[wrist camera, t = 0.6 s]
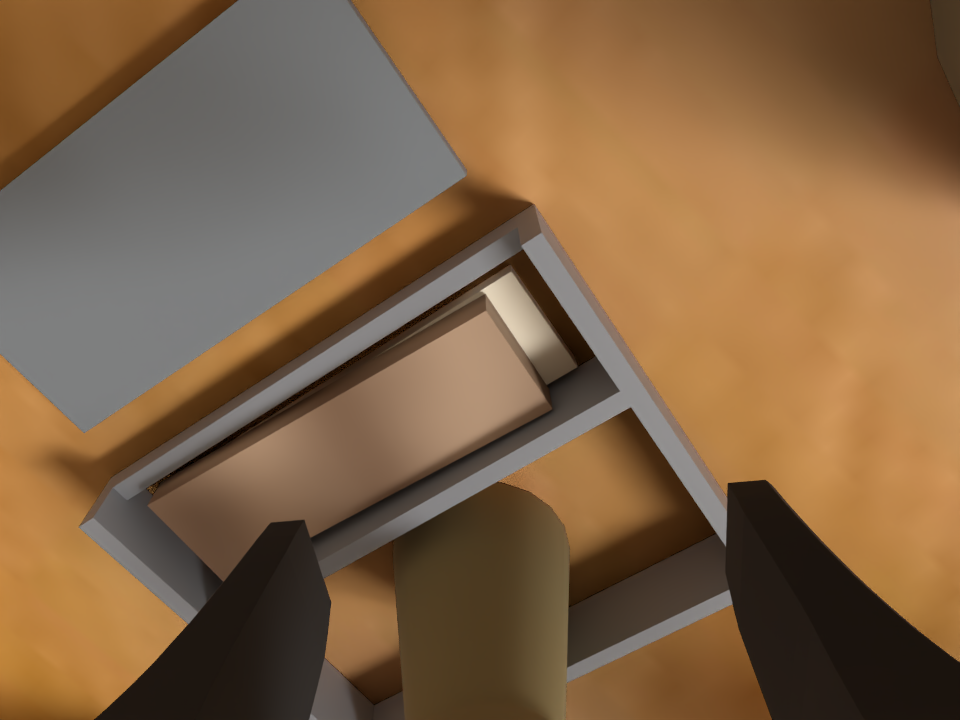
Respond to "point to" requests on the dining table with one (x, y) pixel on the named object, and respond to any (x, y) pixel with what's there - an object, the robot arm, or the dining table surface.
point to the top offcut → (358, 437)
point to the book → (948, 40)
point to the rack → (449, 473)
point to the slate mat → (208, 199)
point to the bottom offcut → (515, 312)
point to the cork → (484, 610)
